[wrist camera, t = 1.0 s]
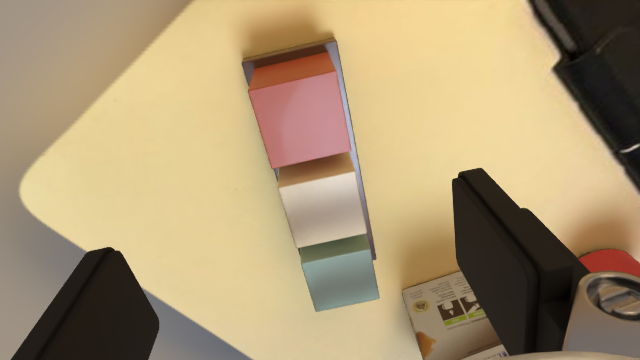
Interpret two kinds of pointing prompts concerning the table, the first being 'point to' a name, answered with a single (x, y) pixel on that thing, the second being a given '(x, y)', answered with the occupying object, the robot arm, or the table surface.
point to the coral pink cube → (299, 110)
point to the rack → (327, 206)
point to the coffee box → (451, 321)
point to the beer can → (610, 261)
